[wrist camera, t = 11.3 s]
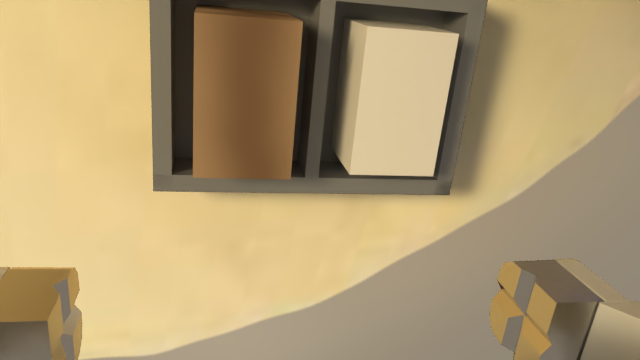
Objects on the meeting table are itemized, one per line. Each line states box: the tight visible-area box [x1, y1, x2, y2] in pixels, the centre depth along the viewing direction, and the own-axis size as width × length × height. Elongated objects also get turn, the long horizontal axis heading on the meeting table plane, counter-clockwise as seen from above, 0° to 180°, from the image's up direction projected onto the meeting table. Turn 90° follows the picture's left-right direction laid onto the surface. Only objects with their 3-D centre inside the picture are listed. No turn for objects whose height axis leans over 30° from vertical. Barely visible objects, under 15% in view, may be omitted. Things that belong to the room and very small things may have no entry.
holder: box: [149, 0, 488, 195], centre depth 31 cm, size 18×12×4 cm, turn 85°
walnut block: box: [193, 5, 303, 180], centre depth 28 cm, size 5×8×6 cm, turn 175°
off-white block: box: [331, 18, 459, 176], centre depth 31 cm, size 5×8×5 cm, turn 175°
